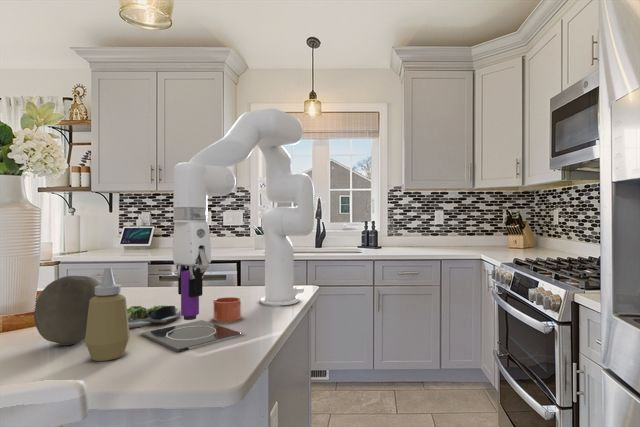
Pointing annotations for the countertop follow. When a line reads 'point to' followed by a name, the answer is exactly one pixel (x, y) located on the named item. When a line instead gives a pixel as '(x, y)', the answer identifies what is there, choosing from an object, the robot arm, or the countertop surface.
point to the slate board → (189, 335)
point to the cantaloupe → (65, 309)
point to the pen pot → (227, 309)
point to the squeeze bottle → (107, 321)
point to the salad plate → (152, 315)
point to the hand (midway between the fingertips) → (190, 294)
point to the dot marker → (188, 298)
